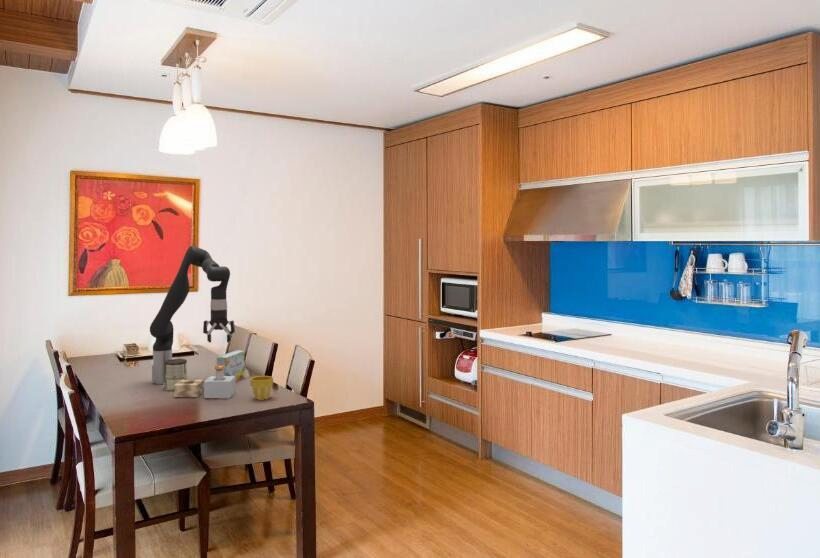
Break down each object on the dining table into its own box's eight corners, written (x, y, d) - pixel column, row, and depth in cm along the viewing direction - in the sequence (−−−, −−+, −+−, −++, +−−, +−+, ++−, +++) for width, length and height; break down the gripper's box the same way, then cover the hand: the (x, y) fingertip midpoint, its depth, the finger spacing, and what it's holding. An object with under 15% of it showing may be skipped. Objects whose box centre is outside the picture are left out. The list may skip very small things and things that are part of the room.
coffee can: (162, 388, 310) (161, 360, 309) (181, 385, 317) (181, 358, 316) (170, 392, 302) (170, 363, 302) (190, 388, 310) (190, 360, 309)
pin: (214, 396, 294) (213, 367, 293) (216, 394, 299) (216, 365, 298) (223, 396, 294) (223, 366, 294) (225, 394, 299) (225, 365, 298)
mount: (174, 397, 292) (173, 385, 291) (181, 392, 303) (180, 380, 302) (197, 397, 292) (197, 384, 292) (204, 391, 303) (203, 379, 303)
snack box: (226, 386, 314) (225, 357, 313) (216, 386, 315) (215, 356, 315) (245, 377, 335) (245, 350, 334) (235, 377, 336) (235, 349, 335)
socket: (204, 398, 290) (203, 381, 290) (210, 392, 302) (210, 376, 302) (230, 398, 291) (229, 381, 290) (235, 392, 303) (235, 375, 302)
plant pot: (254, 395, 296) (254, 375, 296) (275, 395, 296) (275, 375, 295) (247, 401, 286) (247, 380, 285) (270, 401, 286) (269, 380, 285)
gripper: (201, 309, 289) (201, 343, 290) (232, 309, 290) (232, 343, 291) (205, 307, 297) (206, 341, 298) (235, 307, 298) (236, 341, 299)
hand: (219, 342), depth 295 cm, fingers open, 8 cm apart
